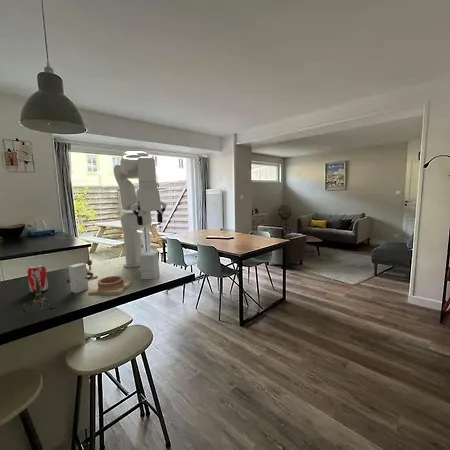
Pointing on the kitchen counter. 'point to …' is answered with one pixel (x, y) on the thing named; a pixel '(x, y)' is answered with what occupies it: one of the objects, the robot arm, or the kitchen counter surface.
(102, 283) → the collar board
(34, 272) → the soda can
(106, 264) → the kitchen counter surface
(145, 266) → the supplement box
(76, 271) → the skincare box
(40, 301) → the eiffel tower figurine
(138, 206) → the robot arm
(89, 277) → the place setting
